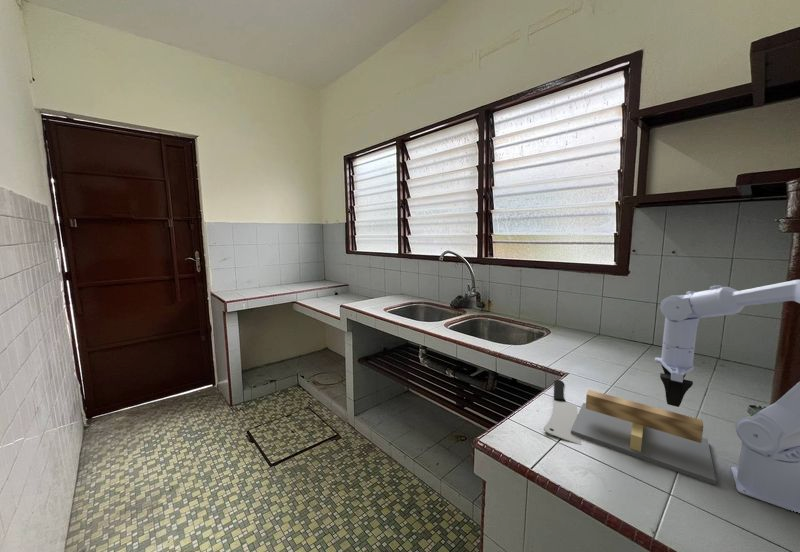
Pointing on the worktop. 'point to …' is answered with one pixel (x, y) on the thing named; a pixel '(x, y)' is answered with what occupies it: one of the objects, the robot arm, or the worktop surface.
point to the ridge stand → (646, 444)
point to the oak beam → (646, 415)
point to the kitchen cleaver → (562, 416)
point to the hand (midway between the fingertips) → (672, 398)
